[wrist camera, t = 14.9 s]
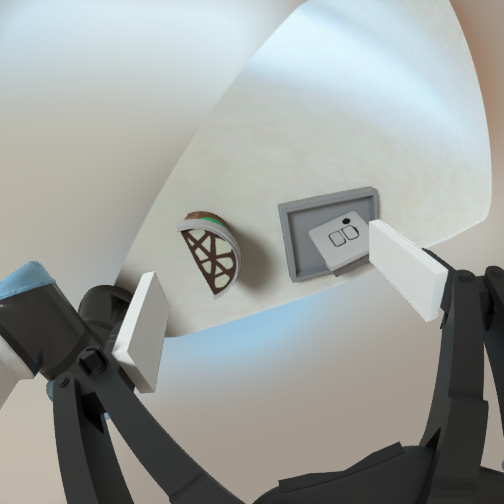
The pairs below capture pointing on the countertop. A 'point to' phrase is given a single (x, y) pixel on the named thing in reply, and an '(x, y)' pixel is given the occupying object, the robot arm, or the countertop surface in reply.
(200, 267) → the food container
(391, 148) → the countertop surface
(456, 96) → the countertop surface
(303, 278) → the back box
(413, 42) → the countertop surface
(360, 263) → the electrical switch
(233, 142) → the countertop surface
